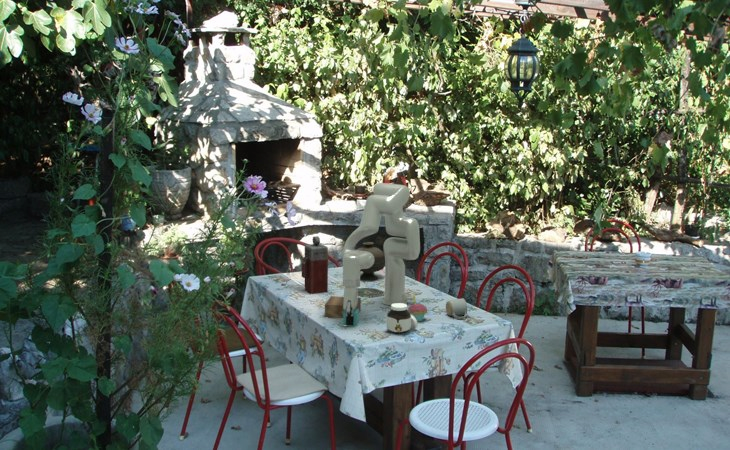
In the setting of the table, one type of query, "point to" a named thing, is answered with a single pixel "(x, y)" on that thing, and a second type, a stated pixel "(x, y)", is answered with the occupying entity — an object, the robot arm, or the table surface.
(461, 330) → the table surface
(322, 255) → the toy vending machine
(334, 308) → the walnut base
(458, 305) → the ceramic mug
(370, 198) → the robot arm
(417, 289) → the table surface
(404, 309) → the spread jar
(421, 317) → the cupcake
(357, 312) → the teal block
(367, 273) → the pot
